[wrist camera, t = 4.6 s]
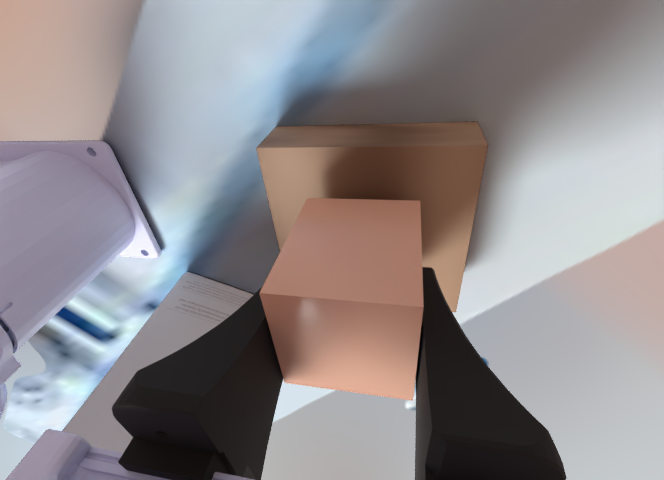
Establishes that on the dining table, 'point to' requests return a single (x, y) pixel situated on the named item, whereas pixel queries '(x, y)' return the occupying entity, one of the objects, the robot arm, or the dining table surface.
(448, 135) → the walnut box
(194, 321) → the supplement box
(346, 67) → the dining table surface
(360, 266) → the terracotta block
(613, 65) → the dining table surface
